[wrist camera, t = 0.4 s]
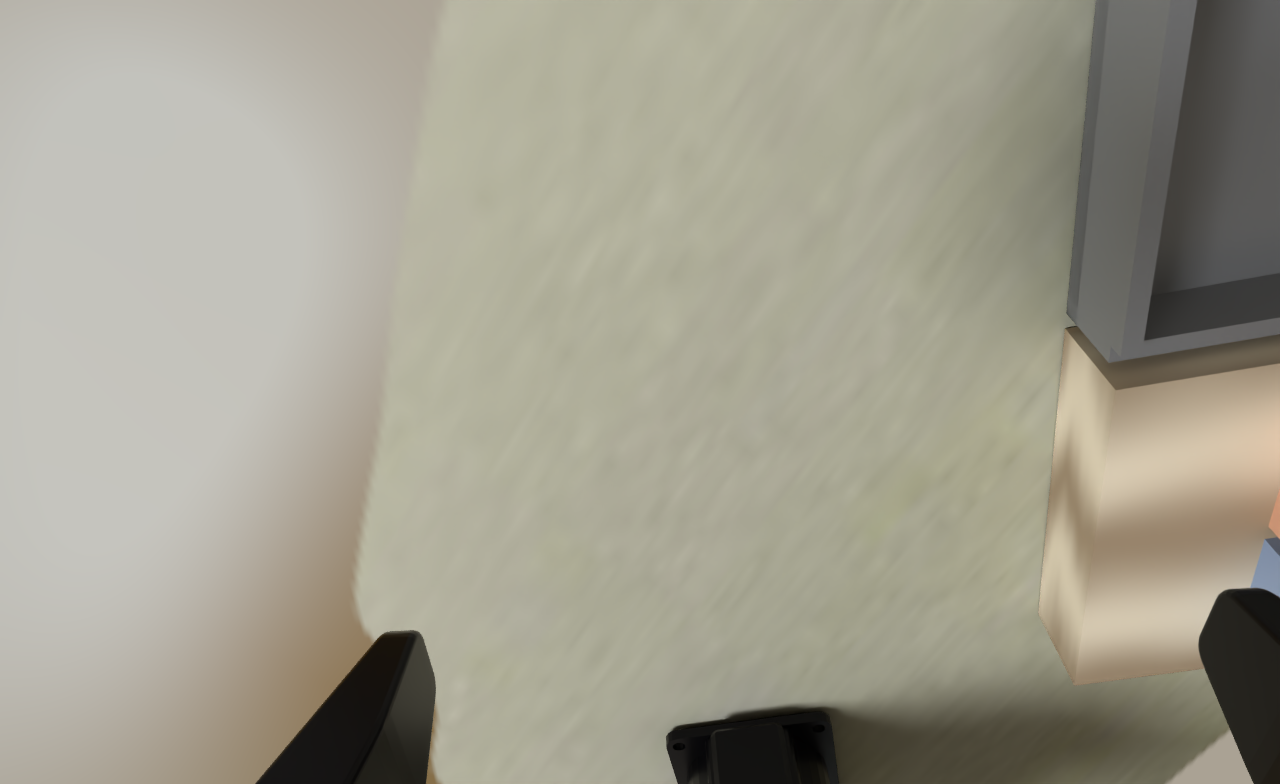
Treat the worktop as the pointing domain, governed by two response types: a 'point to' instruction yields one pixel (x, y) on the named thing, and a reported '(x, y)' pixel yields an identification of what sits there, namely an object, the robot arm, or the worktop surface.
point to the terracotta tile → (1276, 517)
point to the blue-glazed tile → (1268, 567)
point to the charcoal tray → (1179, 177)
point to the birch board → (1155, 500)
